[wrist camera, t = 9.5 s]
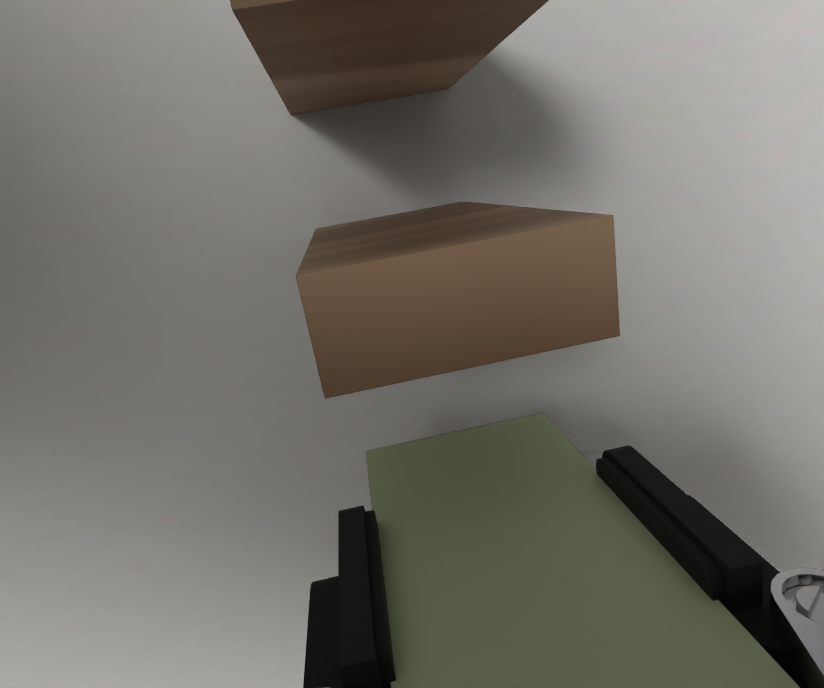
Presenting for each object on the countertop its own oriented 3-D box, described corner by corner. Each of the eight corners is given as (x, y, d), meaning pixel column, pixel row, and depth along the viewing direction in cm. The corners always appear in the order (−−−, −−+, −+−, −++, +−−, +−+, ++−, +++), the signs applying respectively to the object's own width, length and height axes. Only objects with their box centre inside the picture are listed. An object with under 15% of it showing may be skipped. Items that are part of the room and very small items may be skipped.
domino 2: (315, 229, 17) (296, 276, 8) (463, 201, 18) (613, 215, 8) (328, 288, 18) (324, 399, 8) (471, 260, 18) (619, 336, 9)
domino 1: (274, 42, 16) (186, -182, 6) (438, 17, 16) (588, -228, 7) (290, 114, 16) (231, 9, 7) (448, 89, 17) (598, -45, 7)
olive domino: (365, 451, 14) (419, 964, 5) (543, 412, 15) (920, 817, 5) (379, 514, 15) (452, 1085, 5) (550, 475, 15) (899, 943, 6)
